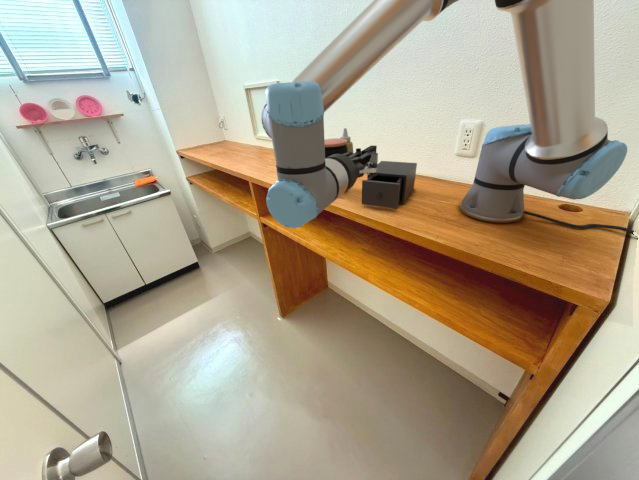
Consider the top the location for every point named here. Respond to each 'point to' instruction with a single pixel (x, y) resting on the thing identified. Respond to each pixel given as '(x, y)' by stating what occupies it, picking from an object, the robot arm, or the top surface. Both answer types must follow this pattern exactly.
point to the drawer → (382, 191)
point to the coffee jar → (335, 146)
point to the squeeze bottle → (349, 143)
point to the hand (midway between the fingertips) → (373, 151)
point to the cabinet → (399, 175)
